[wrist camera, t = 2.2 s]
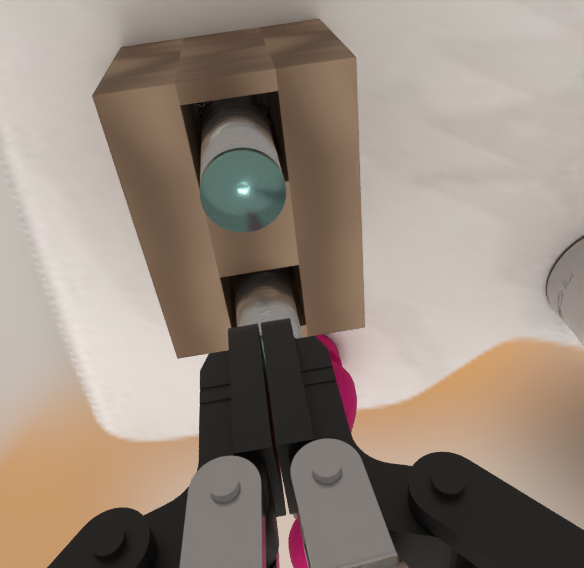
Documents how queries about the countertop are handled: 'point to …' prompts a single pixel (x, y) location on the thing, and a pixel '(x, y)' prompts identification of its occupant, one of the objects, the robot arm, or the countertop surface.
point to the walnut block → (292, 157)
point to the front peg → (239, 166)
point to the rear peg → (265, 299)
